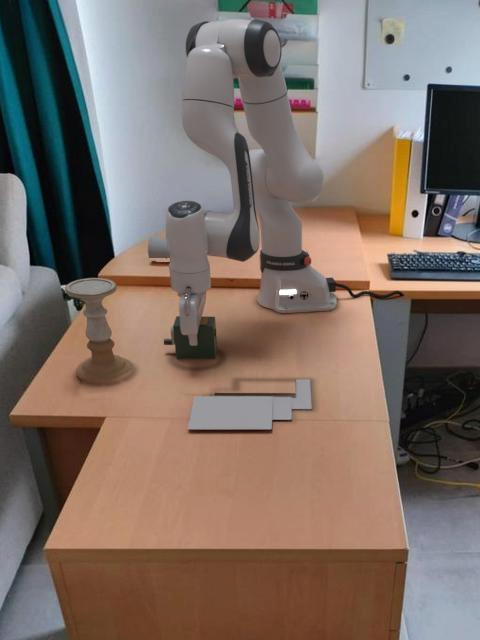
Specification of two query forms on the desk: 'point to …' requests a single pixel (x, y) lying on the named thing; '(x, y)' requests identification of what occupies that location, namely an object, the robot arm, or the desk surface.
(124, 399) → the desk surface
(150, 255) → the grey cylinder
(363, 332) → the desk surface
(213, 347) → the sharpener
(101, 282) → the candle holder
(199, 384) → the desk surface
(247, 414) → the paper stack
